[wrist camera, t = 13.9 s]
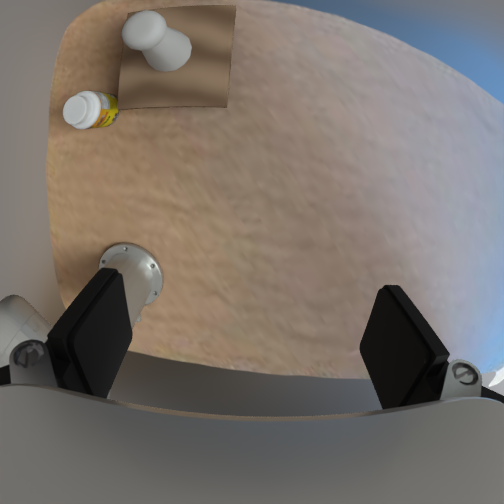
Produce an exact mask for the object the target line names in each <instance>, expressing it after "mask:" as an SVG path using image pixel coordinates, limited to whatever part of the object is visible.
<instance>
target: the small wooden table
mask: <svg viewBox="0 0 504 504" xmlns="http://www.w3.org/2000/svg"><path fill="white" fill-rule="evenodd" d="M149 11H155V12H157V13H158V14H160V15H161V16H162V17H164V19H165V21H166V25H167V27H170V28H172V29H175V30H177V31H180V32H182V33H183V34H184V35H186V36H187V37H188V38H189V40H190V43H191V46H192V49H191V55H190V58H189V59H188V60H187V62H186V63H185V64H184V65H183V66H181V67H180V68H178V69H177V70H174V71H168V72H163V71H158V70H155V69H154V68H153V67H152V66H150V65H149V64H148V62H147V60H146V58H145V56H144V54H143V53H142V51H140V50H134V49H131V48H130V47H129V46H128V45H127V44H125V42H124V41H123V49H122V57H121V66H120V77H119V89H118V106H117V110H125V109H138V108H158V107H223V108H227V103H228V90H229V78H230V67H231V56H232V45H233V35H234V25H235V16H236V6H233V5H204V6H183V7H170V8H160V9H152V10H149ZM138 12H141V11H138ZM136 13H137V12H131V13H128V16H127V20H128V19H129V18H130V17H131V16H133V15H134V14H136Z"/></svg>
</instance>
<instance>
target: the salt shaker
mask: <svg viewBox="0 0 504 504" xmlns="http://www.w3.org/2000/svg"><path fill="white" fill-rule="evenodd" d="M121 34H122V38H123V41H124V42H125V44H127V45H128V46H129V47H130V48H131V49H134V50H140V51H142V53H143V54H144V56H145V58H146V60H147V62H148V64H149V65H150V66H152V67H153V68H154V69H155V70H158V71H163V72H168V71H174V70H177V69H178V68H180V67H181V66H183V65H184V64H185V63H186V62H187V60H188V59H189V58H190V55H191V49H192V46H191V43H190V40H189V38H188V37H187V36H186V35H184V34H183V33H182V32H180V31H177V30H175V29H172V28H170V27H167V25H166V21H165V19H164V17H162V16H161V15H160V14H158V13H157V12H155V11H149V10H144V11H141V12H137V13H136V14H134V15H133V16H131V17H130V18H129V19H128V20H127V21H126V23H125V24H124V26H123V29H122V33H121Z"/></svg>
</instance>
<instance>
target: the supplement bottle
mask: <svg viewBox="0 0 504 504" xmlns="http://www.w3.org/2000/svg"><path fill="white" fill-rule="evenodd" d="M117 106H118V99H117V98H116V97H115V96H114V95H112V94H108V93H101V92H94V91H82V92H79V93H78V94H76V95H75V96H73V97H71V98H69V99H68V100H67V102H66V103H65V105H64V108H63V117H64V119H65V121H66V122H67V123H69V124H71V125H72V126H73V127H75V128H77V129H89V128H99V127H107V126H109V125H111V124H113V123H114V122H115V121H116V119H117V118H118V116H119V114H120V110H117Z"/></svg>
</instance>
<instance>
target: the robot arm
mask: <svg viewBox="0 0 504 504" xmlns="http://www.w3.org/2000/svg"><path fill="white" fill-rule="evenodd" d="M126 247H127V248H126ZM162 286H163V274H162V270H161V268H160V266H159V263H158V262H157V261H156V259H155V258H154V257H153V256H152V255H151V254H150V253H149V252H148V251H147V250H145V249H144V248H142V247H140V246H138V245H135V244H131V243H119V244H116V245H114V246H112V247H110V248H109V249H108V250H107V251H106V252H105V253H104V254H103V255H102V257H101V259H100V263H99V271H98V272H97V273H96V274H95V276H94V277H93V278H92V279H91V280H90V281H89V283H88V284H87V285H86V286H85V287H84V289H83V290H82V291H81V292H80V293H79V295H78V296H77V297H76V298H75V300H74V301H73V302H72V303H71V305H70V306H69V307H68V308H67V310H66V311H65V312H64V313H63V315H62V316H61V317H60V319H59V320H58V321H57V323H56V324H55V325H54V326H52V325H51V324H50V323H49V322H48V321H47V320H46V319H45V318H44V317H43V316H42V315H41V314H40V313H39V312H38V311H37V310H36V309H35V308H34V307H33V306H32V305H31V304H30V303H28V302H27V301H26V300H25V299H24V298H22V297H20V296H18V295H10V296H7V297H5V298H4V299H2V300H1V301H0V504H504V396H503V395H500V394H498V393H496V392H494V391H492V390H490V389H488V388H486V387H483V386H482V376H481V373H480V371H479V370H478V369H477V367H475V366H474V365H473V364H472V363H470V362H468V361H465V360H461V359H456V360H453V361H452V362H450V363H449V362H448V361H447V359H448V357H449V355H450V354H449V352H448V351H447V349H446V348H445V346H444V345H443V343H442V342H441V340H440V339H439V338H438V336H437V335H436V333H435V332H434V331H433V329H432V328H431V326H430V325H429V324H428V322H427V321H426V320H425V318H424V317H423V316H422V314H421V313H420V312H419V310H418V309H417V308H416V306H415V305H414V304H413V302H412V301H411V300H410V298H409V297H408V296H407V295H406V293H405V292H404V291H403V290H402V288H401V287H400V286H399V285H384V286H383V288H382V289H379V291H378V293H377V296H376V300H375V303H374V306H373V309H372V312H371V315H370V318H369V321H368V323H367V326H366V329H365V332H364V335H363V337H362V340H361V343H360V353H361V356H362V358H363V360H364V363H365V365H366V368H367V370H368V373H369V375H370V378H371V380H372V383H373V385H374V388H375V390H376V393H377V395H378V398H379V401H380V403H381V406H382V408H383V410H375V411H368V412H359V413H349V414H338V415H323V416H303V417H248V416H227V415H213V414H201V413H191V412H182V411H174V410H167V409H160V408H153V407H147V406H142V405H136V404H130V403H125V402H120V401H115V400H110V399H109V395H110V389H111V387H112V384H113V382H114V379H115V377H116V375H117V372H118V370H119V368H120V365H121V363H122V361H123V358H124V356H125V354H126V352H127V349H128V347H129V345H130V343H131V340H132V329H133V327H134V325H135V323H136V322H140V321H141V314H140V313H141V311H142V309H143V307H144V305H147V304H150V303H151V302H153V301H154V300H155V299H156V298H157V297H158V296H159V294H160V292H161V289H162Z"/></svg>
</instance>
